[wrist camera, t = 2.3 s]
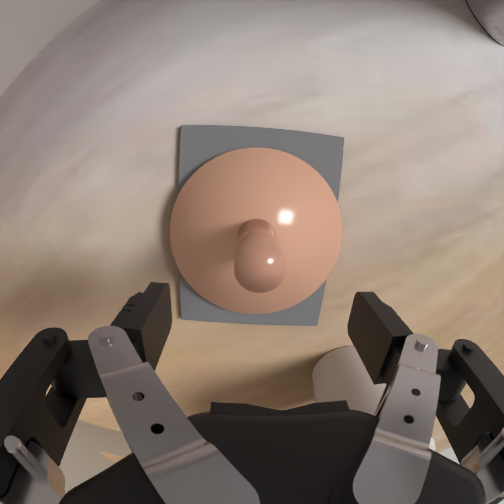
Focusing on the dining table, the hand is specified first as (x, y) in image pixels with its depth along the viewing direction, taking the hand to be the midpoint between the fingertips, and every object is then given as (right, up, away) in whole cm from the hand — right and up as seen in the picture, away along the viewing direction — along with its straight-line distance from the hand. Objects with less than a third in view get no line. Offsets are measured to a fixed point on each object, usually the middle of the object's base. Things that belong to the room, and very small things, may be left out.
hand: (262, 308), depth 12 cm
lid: (0, +4, +10) cm, 11 cm away
